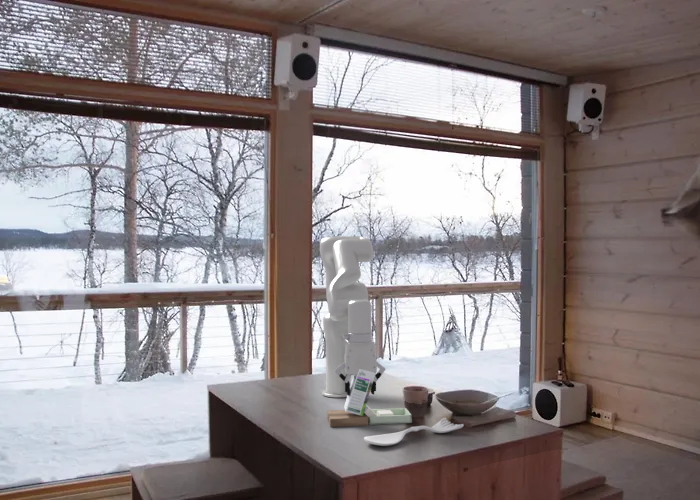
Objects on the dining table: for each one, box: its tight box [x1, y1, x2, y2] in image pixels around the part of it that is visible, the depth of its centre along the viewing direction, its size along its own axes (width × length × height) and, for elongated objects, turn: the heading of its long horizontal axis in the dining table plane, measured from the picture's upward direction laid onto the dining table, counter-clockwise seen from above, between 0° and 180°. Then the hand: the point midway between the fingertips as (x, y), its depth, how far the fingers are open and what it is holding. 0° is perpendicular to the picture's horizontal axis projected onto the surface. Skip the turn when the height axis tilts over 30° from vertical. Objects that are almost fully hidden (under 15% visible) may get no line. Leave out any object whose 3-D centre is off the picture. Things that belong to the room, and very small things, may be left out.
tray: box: [368, 407, 413, 426], centre depth 204 cm, size 9×14×2 cm, turn 98°
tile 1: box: [364, 404, 377, 417], centre depth 202 cm, size 4×4×2 cm
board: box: [326, 409, 369, 428], centre depth 202 cm, size 10×12×2 cm
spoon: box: [363, 417, 464, 447], centre depth 185 cm, size 9×32×4 cm, turn 121°
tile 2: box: [377, 410, 393, 416], centre depth 205 cm, size 4×4×2 cm
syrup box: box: [343, 369, 377, 416], centre depth 202 cm, size 6×6×14 cm
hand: (360, 393), depth 202 cm, fingers closed on syrup box, 7 cm apart
